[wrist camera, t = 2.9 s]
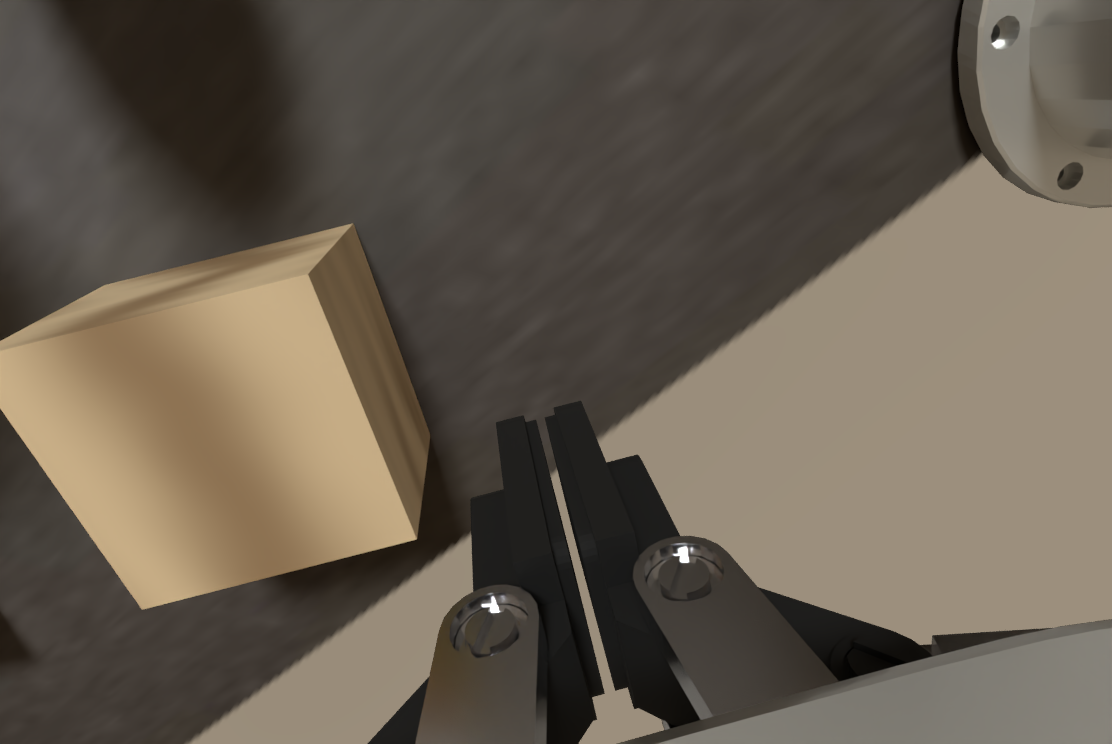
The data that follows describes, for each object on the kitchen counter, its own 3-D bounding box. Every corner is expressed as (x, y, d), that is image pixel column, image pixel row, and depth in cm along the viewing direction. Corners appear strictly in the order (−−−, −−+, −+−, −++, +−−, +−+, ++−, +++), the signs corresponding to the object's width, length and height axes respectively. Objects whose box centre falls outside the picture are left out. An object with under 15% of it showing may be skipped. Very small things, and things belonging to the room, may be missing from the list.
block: (354, 222, 20) (307, 273, 14) (430, 433, 23) (416, 539, 18) (106, 284, 20) (-35, 359, 14) (220, 486, 23) (142, 609, 18)
